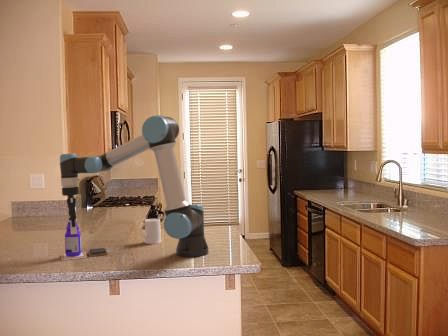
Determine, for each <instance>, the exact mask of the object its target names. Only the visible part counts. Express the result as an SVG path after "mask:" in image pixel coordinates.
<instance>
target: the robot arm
mask: <svg viewBox="0 0 448 336" xmlns="http://www.w3.org/2000/svg"><path fill="white" fill-rule="evenodd" d="M179 125H180V124H178V122H177V120H176V119H174V118H172V117H170V116H162V115H159V114H158V115H152V116H150V117H147V118H146V119H145V120H144V122H143V123H142V127H141V135H139V136H137V137H135V138H133V139H131V140H129V141H126V142H125V143H123V144H121V145H119V146H117V147H115V148H113V149H111V150H109V151H107V152H105V153H103V154H101V155H97V156H95V155H94V156H82V157H78V156H77V154H76V153H62V154H60V155H59V166H60V167H59V168H60V183H61V187H62V188H61V194H62V196H64V197H66V196H67V199H66V204H67V208H68V213H67V214H68V219H69V220H70V228H71V234H77V225H78V223H77V224H76V219H77V214H76V213H77V212H76V204H77V199H76V197H74V196H77V195H79V194H80V188H79V187H80V186H79V181H80V178H79V174H97V173H101V172H108V171H110V170H112V168H113V167H115V166H117V165H120V164H121V163H123V162H125V161H128V160H130V159H131V158H133V157H135V156H138V155H140V154H142V153H144V152H146V151H148V150H150V151H152V152H153V154H154V155H155V162H156V165H157V169H158V174H159V179H160V182H161V187H162V191H163V195H164V201H165V204H166V205H165V208H164V209H163V212H164V216H165V219H164V220H163V228H164V231H165V232H166V234H167V235H168V236H169V237H171V238H172V239H176V240H178V242H177V245H176V248H175V253H176V255H177V256H178V257H184V258H193V257H202V256H205V255H208V254H209V253H210V252H209V245H208V243H207V240H206V238H205V223H204V220H205V219H204V217H205V216H204V214H205V213H204V206H203V204H191V203H190V202H188V201H187V200H186V197H185V192H184V188H183V183H182V180H181V174H180V171H179V167H178V161H177V157H176V154H175V149H174V148H175V146H176V144H177V142H176V139H177V138H178V136H179V134H180V126H179Z"/></svg>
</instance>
